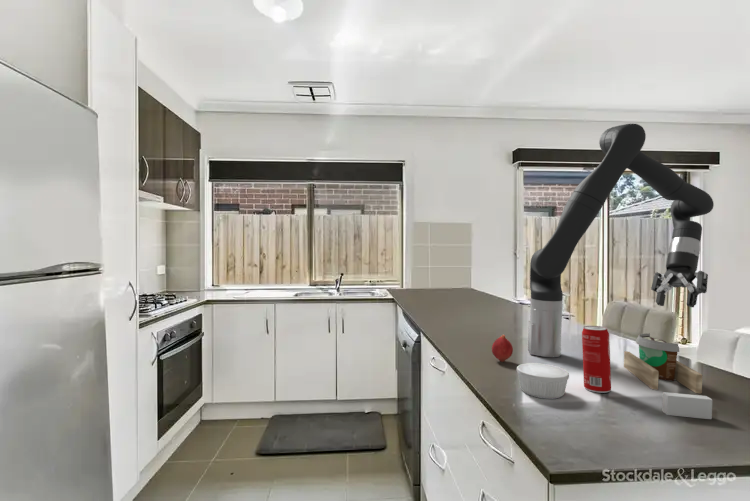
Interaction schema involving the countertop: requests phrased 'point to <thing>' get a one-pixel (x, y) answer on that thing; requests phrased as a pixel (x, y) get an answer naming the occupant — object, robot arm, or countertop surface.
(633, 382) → the countertop surface
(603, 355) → the beverage can
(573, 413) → the countertop surface
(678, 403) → the white rectangular block
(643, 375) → the chute
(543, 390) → the ramekin
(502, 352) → the onion
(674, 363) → the food container
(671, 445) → the countertop surface
